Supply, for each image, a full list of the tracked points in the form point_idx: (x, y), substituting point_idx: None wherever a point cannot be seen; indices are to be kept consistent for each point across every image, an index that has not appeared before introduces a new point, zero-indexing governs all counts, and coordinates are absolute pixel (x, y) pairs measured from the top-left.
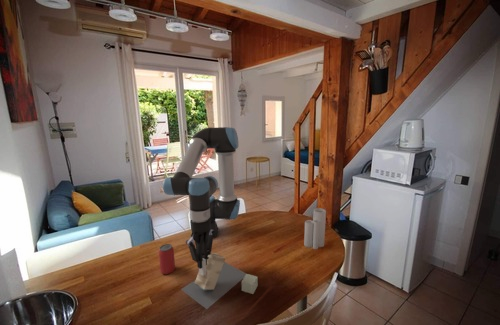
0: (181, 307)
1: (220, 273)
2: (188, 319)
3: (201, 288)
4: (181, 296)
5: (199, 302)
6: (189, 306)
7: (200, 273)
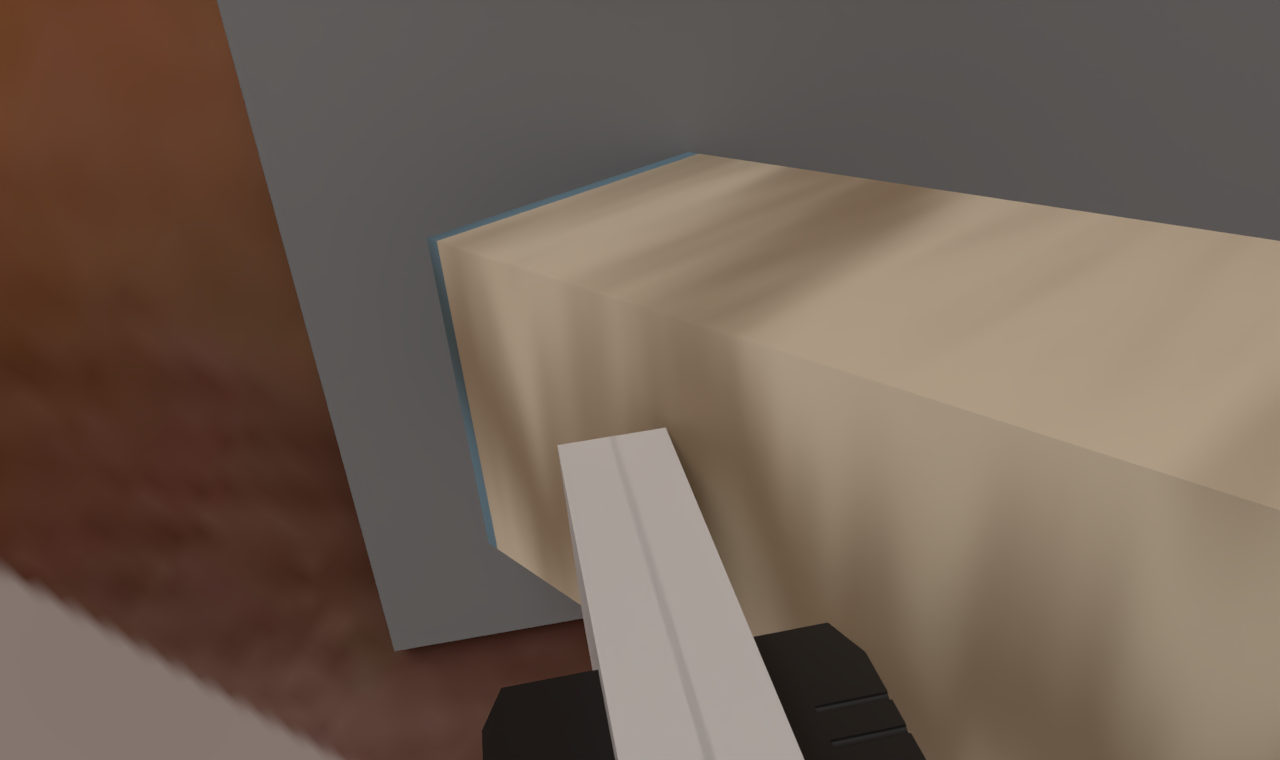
0: (60, 338)
1: (1109, 138)
2: (89, 603)
3: (477, 476)
4: (152, 83)
5: (368, 483)
6: (199, 410)
7: (568, 515)
